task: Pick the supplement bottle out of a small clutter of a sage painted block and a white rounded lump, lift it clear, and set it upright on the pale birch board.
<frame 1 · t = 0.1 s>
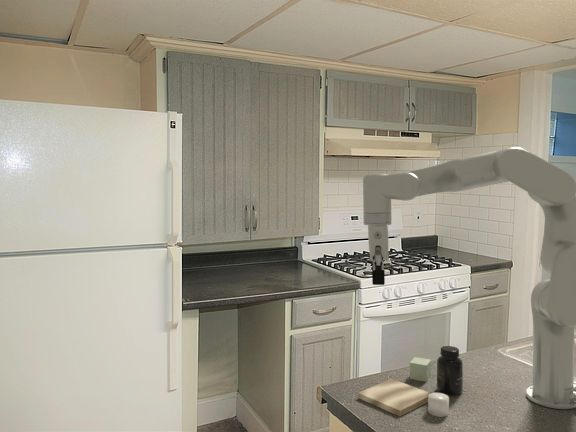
hand: (378, 280, 135), 31 cm above the worktop, tool pointing down, fingers open, 9 cm apart
white rounded lump: (438, 412, 124), on the worktop
birch board: (395, 398, 132), on the worktop
sage block: (420, 377, 146), on the worktop
supplement bottle: (449, 391, 136), on the worktop
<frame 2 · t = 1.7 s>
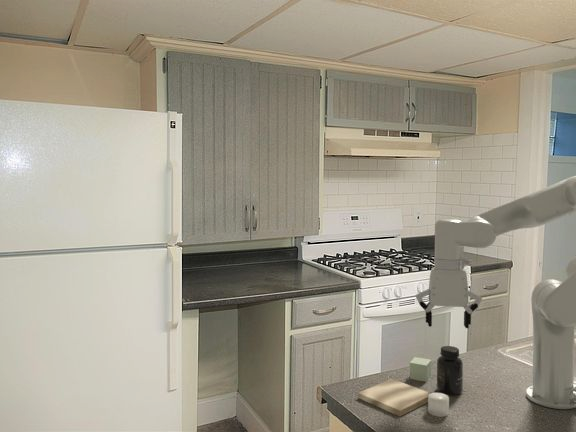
hand: (447, 326, 135), 18 cm above the worktop, tool pointing down, fingers open, 9 cm apart
nothing on the worktop moved.
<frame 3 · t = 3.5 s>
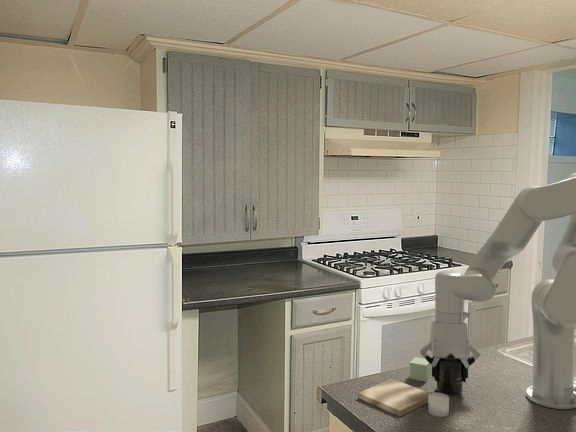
hand: (449, 379, 136), 3 cm above the worktop, tool pointing down, fingers closed on supplement bottle, 6 cm apart
supplement bottle: (449, 391, 136), on the worktop, touching gripper
everything else where it was.
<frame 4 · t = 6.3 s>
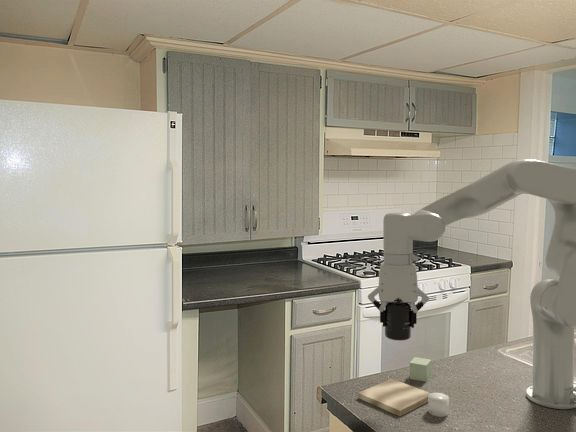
hand: (398, 325, 131), 20 cm above the worktop, tool pointing down, fingers closed on supplement bottle, 6 cm apart
supplement bottle: (397, 337, 131), point 17 cm above the worktop, touching gripper
everything else where it was.
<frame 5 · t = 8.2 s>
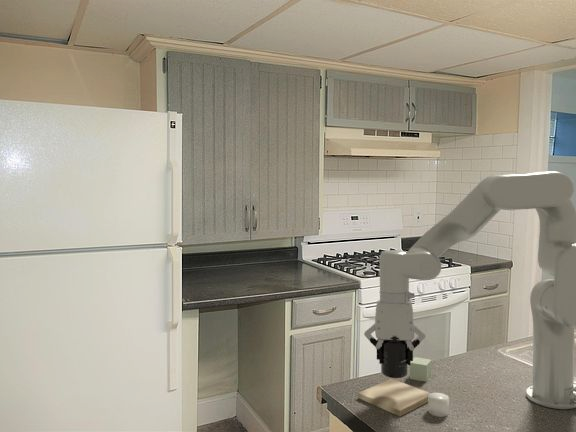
hand: (394, 362, 131), 10 cm above the worktop, tool pointing down, fingers closed on supplement bottle, 6 cm apart
supplement bottle: (394, 374, 131), point 7 cm above the worktop, touching gripper
everything else where it was.
when the fingers open (6 cm above the worktop, at t = 9.5 s): supplement bottle drops 1 cm, resting on birch board.
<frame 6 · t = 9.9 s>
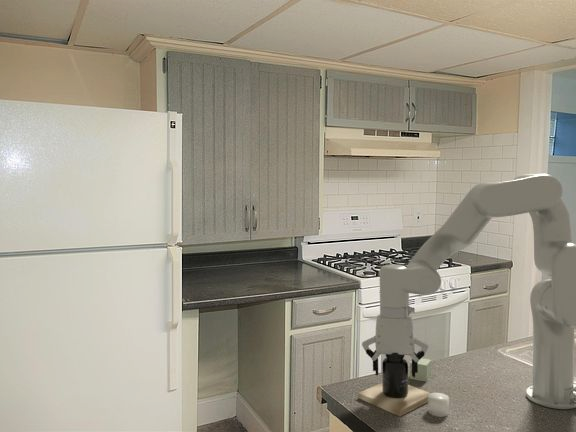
hand: (395, 374, 131), 7 cm above the worktop, tool pointing down, fingers open, 9 cm apart
supplement bottle: (395, 394, 132), point 1 cm above the worktop, touching birch board
everything else where it was.
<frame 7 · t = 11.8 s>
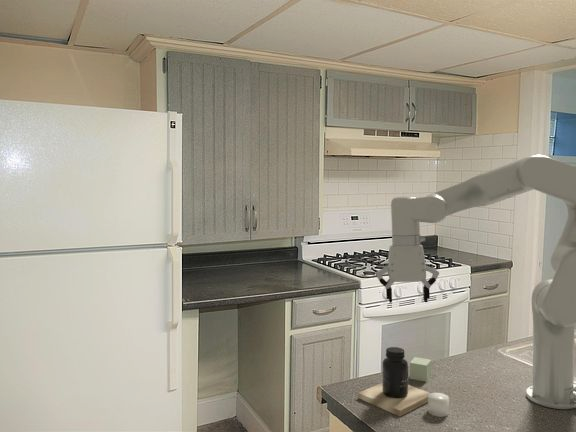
hand: (407, 301, 137), 25 cm above the worktop, tool pointing down, fingers open, 9 cm apart
nothing on the worktop moved.
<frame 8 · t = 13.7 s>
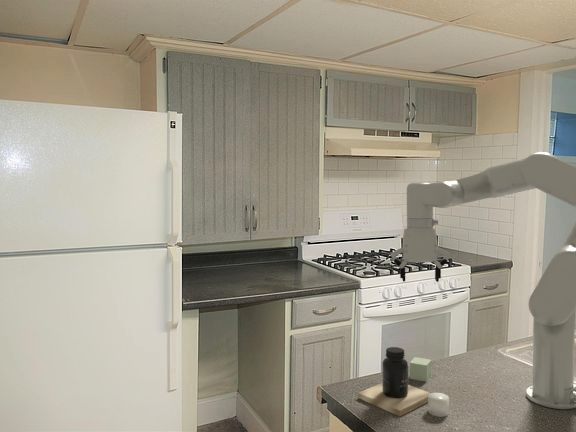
hand: (420, 280, 147), 28 cm above the worktop, tool pointing down, fingers open, 9 cm apart
nothing on the worktop moved.
at the end: supplement bottle inside the target area on the birch board (0.0 cm from its centre), point 1.3 cm above the birch board's base; supplement bottle tilted 0°; the gripper is holding nothing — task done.
